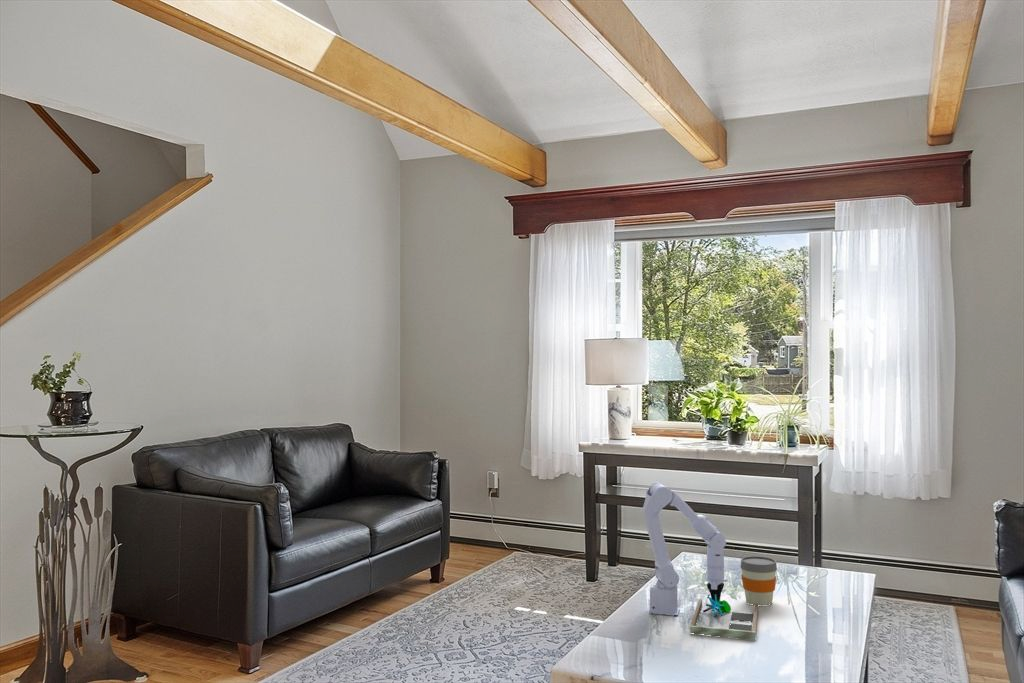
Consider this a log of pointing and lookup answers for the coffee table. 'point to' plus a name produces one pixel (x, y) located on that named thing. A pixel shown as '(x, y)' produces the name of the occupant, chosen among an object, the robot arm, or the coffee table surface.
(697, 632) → the channel box
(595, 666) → the coffee table surface
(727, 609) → the stick construction toy
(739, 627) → the mats
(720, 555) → the robot arm
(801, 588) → the coffee table surface
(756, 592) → the reusable coffee cup
